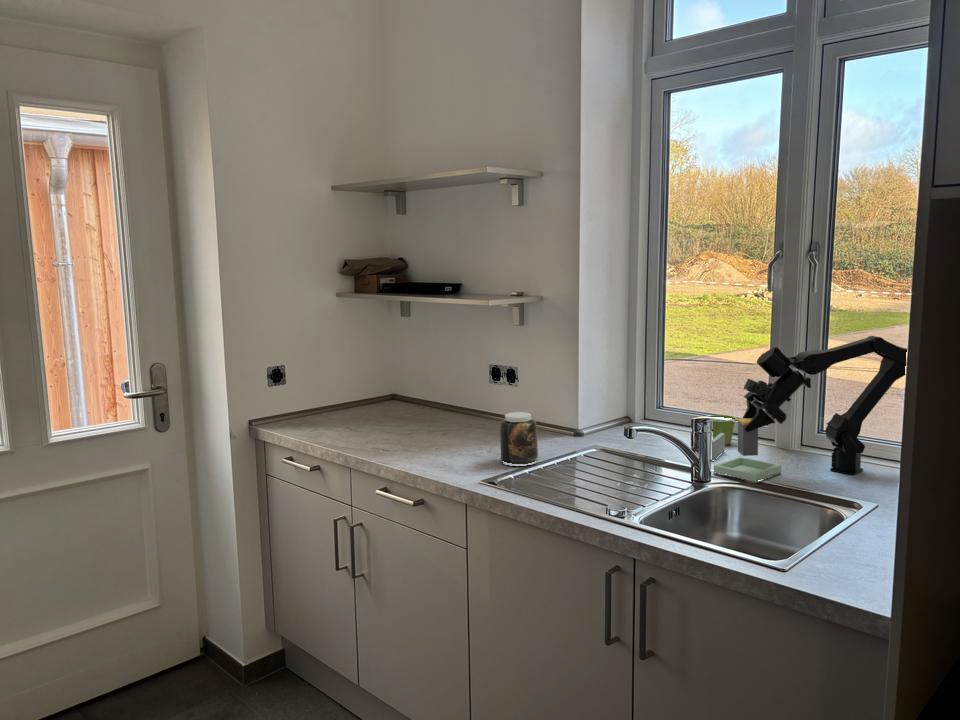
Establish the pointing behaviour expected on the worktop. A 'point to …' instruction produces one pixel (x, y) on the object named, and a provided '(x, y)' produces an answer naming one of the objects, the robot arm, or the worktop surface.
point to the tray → (748, 469)
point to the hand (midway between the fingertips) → (742, 428)
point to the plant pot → (723, 427)
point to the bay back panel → (718, 445)
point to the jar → (518, 438)
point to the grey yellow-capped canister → (747, 438)
